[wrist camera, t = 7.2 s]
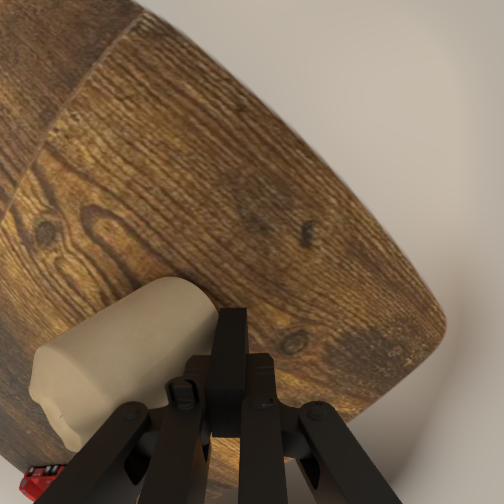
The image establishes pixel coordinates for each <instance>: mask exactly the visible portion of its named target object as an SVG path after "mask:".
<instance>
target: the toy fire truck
mask: <svg viewBox="0 0 504 504" xmlns="http://www.w3.org/2000/svg"><path fill="white" fill-rule="evenodd" d="M64 468H65V467H64V466H61V467H60V466H59V465H55V466H54V467H52V466H51V465H49V466H47V467H46V468H35V467H32V468H30V469H28V470H27V471H26V473H25V475H24V478H23V479H22V481H21V483H20V487H19V490H20V491H21V492H22V493H23V494H24V495H25V496H26V497H28V498H29V499H30V500H32V501H33V502H35V501H36V500H37V499H38V498H39V496H40V495H41V494H42V493H43V492H44V491H45V490H46V488H47V487H48V486H49V485H50V484H51V483H52V482H53V480H54V479H55V478H56V477H57V476H58V475H59V474H60V472H61V471H62V470H63V469H64Z"/></svg>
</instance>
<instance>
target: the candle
mask: <svg viewBox="0 0 504 504" xmlns="http://www.w3.org/2000/svg"><path fill="white" fill-rule="evenodd" d="M218 317H219V315H218V313H217V310H216V308H215V307H214V305H213V303H212V302H211V300H210V299H209V298H208V297H207V296H206V294H205V293H204V292H203V291H202V290H200V289H199V288H198V287H197V286H195V285H194V284H192V283H191V282H189V281H187V280H184V279H181V278H178V277H162V278H159V279H156V280H154V281H152V282H150V283H148V284H146V285H144V286H143V287H141V288H139V289H137V290H136V291H134V292H132V293H131V294H129V295H127V296H125V297H124V298H122V299H120V300H118V301H117V302H115V303H113V304H111V305H110V306H108V307H106V308H105V309H103V310H101V311H99V312H98V313H96V314H94V315H93V316H91V317H89V318H88V319H86V320H84V321H82V322H81V323H79V324H77V325H76V326H74V327H72V328H71V329H69V330H67V331H66V332H64V333H62V334H61V335H59V336H57V337H55V338H54V339H52V340H50V341H49V342H47V343H46V344H44V345H42V346H41V347H39V348H38V349H37V350H36V352H35V356H34V362H33V369H32V377H31V383H30V387H29V393H30V395H31V397H32V399H33V400H34V401H35V402H37V403H39V404H40V405H41V407H42V409H43V410H44V412H45V414H46V416H47V418H48V421H49V423H50V425H51V426H52V428H53V429H54V431H55V432H56V433H57V434H58V435H59V436H60V437H61V439H62V440H63V442H64V445H65V447H66V448H67V449H68V450H70V451H73V452H79V451H80V450H81V448H82V447H83V446H84V445H85V444H86V443H87V442H88V440H89V439H90V438H91V437H92V436H93V435H94V434H95V432H96V431H97V430H98V429H99V428H100V427H101V426H102V424H103V423H104V422H105V421H106V420H107V419H108V418H109V416H110V415H111V414H112V413H113V412H114V411H115V410H116V408H117V407H119V406H120V405H121V404H123V403H126V402H130V401H137V402H141V403H143V404H145V405H146V407H147V408H148V409H153V408H159V407H163V406H166V405H168V403H169V402H168V398H167V394H166V390H165V385H166V383H167V382H168V381H169V380H171V379H173V378H176V377H180V376H183V372H184V370H185V366H186V362H187V361H188V360H189V359H190V358H191V357H192V356H193V355H211V351H212V346H213V341H214V336H215V331H216V327H217V322H218Z"/></svg>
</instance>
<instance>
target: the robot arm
mask: <svg viewBox="0 0 504 504" xmlns="http://www.w3.org/2000/svg"><path fill="white" fill-rule="evenodd" d="M165 390H166V394H167V398H168V402H169V403H168V405H166V406H163V407H159V408H153V409H148V408H147V407H146V405H145V404H143V403H141V402H137V401H130V402H126V403H123V404H121V405H120V406H119V407H117V408H116V410H115V411H114V412H113V413H112V414H111V415H110V416H109V418H108V419H107V420H106V421H105V422H104V423H103V424H102V426H101V427H100V428H99V429H98V430H97V431H96V432H95V434H94V435H93V436H92V437H91V438H90V439H89V440H88V442H87V443H86V444H85V445H84V446H83V447H82V448H81V450H80V451H79V452H78V453H77V454H76V455H75V456H74V458H73V459H72V460H71V461H70V462H69V463H68V464H67V466H66V467H65V468H64V469H63V470H62V471H61V472H60V474H59V475H58V476H57V477H56V478H55V479H54V480H53V482H52V483H51V484H50V485H49V486H48V487H47V488H46V490H45V491H44V492H43V493H42V494H41V495H40V496H39V498H38V499H37V500H36V501H35V502H34V503H33V504H134V502H135V501H136V499H137V497H138V496H139V494H140V493H141V494H140V497H139V500H138V504H204V500H205V493H206V485H207V477H208V470H209V462H210V455H211V441H210V436H211V432H212V437H219V438H240V462H239V489H238V490H239V491H238V504H288V499H287V488H286V478H285V467H284V456H285V457H290V458H295V459H296V462H297V464H298V466H299V468H300V470H301V472H302V474H303V476H304V478H305V480H306V483H307V484H308V487H309V489H310V491H311V492H312V494H313V496H314V499H315V501H316V503H317V504H402V503H401V501H400V500H399V498H398V497H397V496H396V494H395V493H394V491H393V490H392V489H391V487H390V486H389V484H388V483H387V482H386V480H385V479H384V477H383V476H382V475H381V473H380V472H379V471H378V469H377V468H376V466H375V465H374V464H373V462H372V461H371V460H370V458H369V457H368V455H367V454H366V452H365V451H364V450H363V448H362V447H361V445H360V444H359V443H358V441H357V440H356V438H355V437H354V436H353V434H352V433H351V431H350V430H349V428H348V427H347V426H346V424H345V423H344V421H343V420H342V418H341V417H340V416H339V414H338V413H337V411H336V410H335V408H334V407H333V406H331V405H330V404H328V403H326V402H323V401H311V402H308V403H306V404H304V405H303V406H302V407H300V408H294V407H289V406H287V405H284V404H283V403H281V402H280V401H279V399H278V398H277V394H276V384H275V374H274V362H273V358H272V357H271V356H270V355H269V354H268V353H255V354H249V345H248V326H247V308H220V312H219V317H218V322H217V327H216V331H215V336H214V341H213V346H212V351H211V355H193V356H192V357H191V358H190V359H189V360H188V361H187V362H186V366H185V370H184V372H183V376H180V377H176V378H173V379H171V380H169V381H168V382H167V383H166V385H165Z"/></svg>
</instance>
